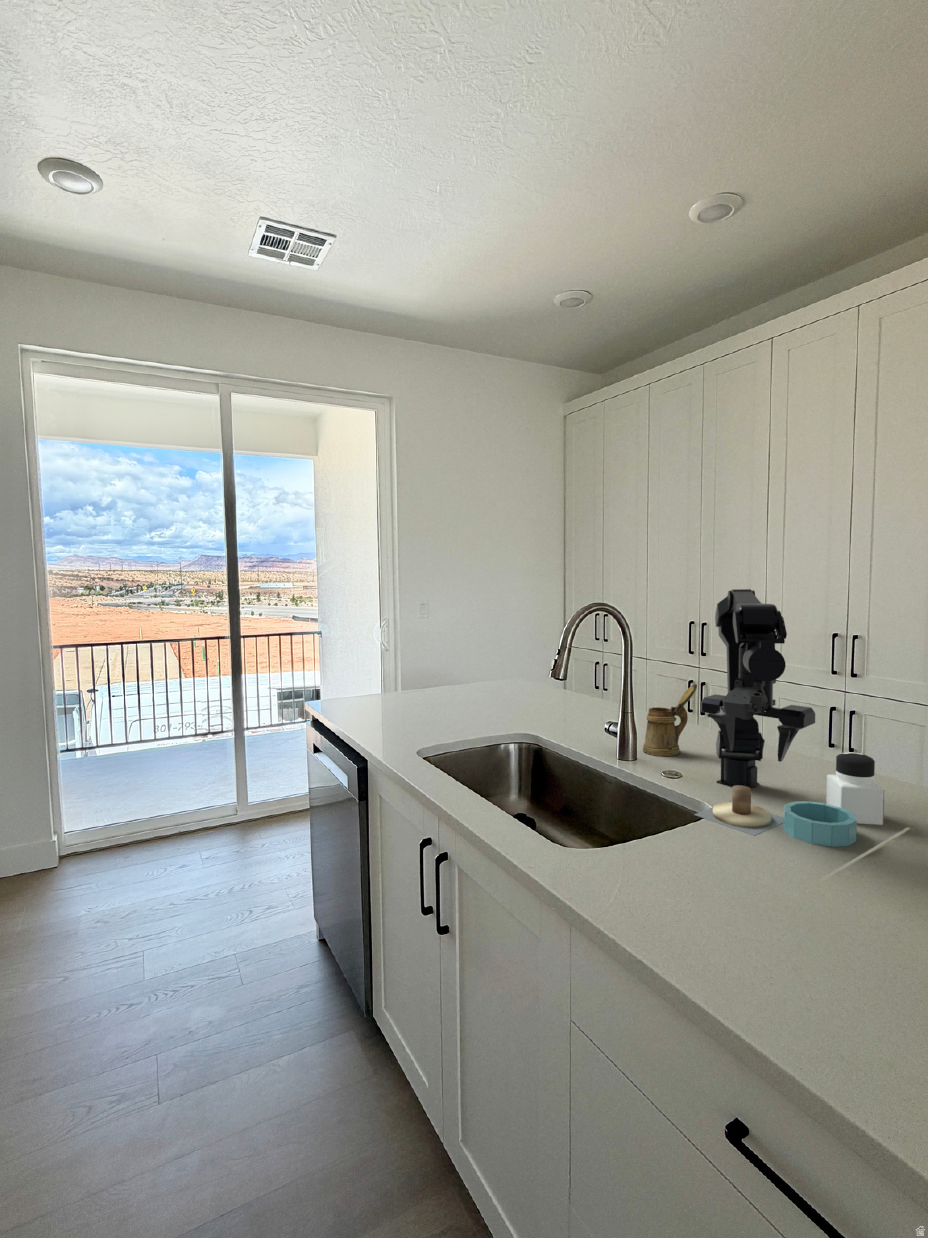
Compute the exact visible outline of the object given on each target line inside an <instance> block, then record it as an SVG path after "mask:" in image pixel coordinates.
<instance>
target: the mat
mask: <svg viewBox="0 0 928 1238" xmlns="http://www.w3.org/2000/svg"><path fill="white" fill-rule="evenodd" d="M727 802H732V800H728V801H727ZM769 813H770V814H771V823H770V824H769V825H767V826H764V827H756V828H750V827H740V826H735V825H730V824H727V823H724V822H722V821H720V820H718V819H716V818H715V817H714V816H713V806H712V807H710V808H707V809H705V810H703V811H700V812H697V813H695V814H693V816H696V817H699V818H702V819H704V820H708V821H710V822H714V823H716V824H718V825H722V826H725V827H728V828H731V829H734V830H736V831H739V832H742V833H745V834H747V835H751V836H754V837H756V836H758V835H760V834H762V833H764V832H766V831H768V830H771V829H772V828H775V827H777V826H779V825H781V824H782V825H783V824H784V816H780V815H778V814H774V813H771V812H769Z"/></svg>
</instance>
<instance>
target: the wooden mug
mask: <svg viewBox="0 0 928 1238" xmlns="http://www.w3.org/2000/svg"><path fill="white" fill-rule="evenodd" d="M697 689H698V685H697V684H693V685H692V686H690V687H688V688H687V689H686V690H685V692H684V693H683V694H682V696H681V697H680V699H679V700H678V704H677V705H673V706H671V707H670V708H667V707H662V706H661V707H658V706H657V707H649V708H648V712H647V715H646V721H647V723H646V731H645V737H644V738H645V739H644V743H643V747H642V751H643V753H645V752H646V753H645V754H648V755H651V756H657V757H671V756H676V755H678V754H679V753H680V750H681V749H680V746H679V739H680V736H681V734H682V733H683V730H684V729H685V727H686V725H687V724H688V712H687V710H686V709H685V707H684V706H685V705H686V704H687V703H689V701H690V700H691V698H692V697H693V696H694V694H695V693H696V691H697ZM676 716H677V717H678V718H679V719H680V722H679V723H678V724H677V725H676V724H675V722H676V721H677V717H676Z"/></svg>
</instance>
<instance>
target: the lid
mask: <svg viewBox="0 0 928 1238" xmlns="http://www.w3.org/2000/svg"><path fill="white" fill-rule="evenodd" d="M731 792H732V793H731V794H732V795H731V801H732V802H728V801H726V802H724V801H723V802H719V803H717V804H714V805H713V806H712V807H713V816H714V817H715V818H716V819H718V820H720V821H722V822H724V823H727V824H730V825H735V826H740V827H750V828H756V827H764V826H767V825H769V824H770V823H771V814H772V813H771V812H770V811H768V809H764V808H762V807H760V806H758V805H755V804H752V788H749V787H747V786H741V785H736V786H733V787H731ZM770 813H771V814H770Z"/></svg>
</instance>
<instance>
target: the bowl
mask: <svg viewBox="0 0 928 1238" xmlns="http://www.w3.org/2000/svg"><path fill="white" fill-rule="evenodd" d="M783 817H784V823H783V832H785V833H786V834H788V835H789V836H791V837H792V838H794V839H796V840H800V841H803V842H806V843H808V844H812V845H819V846H824V847H831V848H832V847H848V846H850V845H853V844H854V843H856V842H857V824H858V823H857V820H856V818H855V815H854V814H853V813H851V812H849V811H847V810H845V809H843V808H840V807H837V806H833V805H829V804H826V803H824V802H817V801H811V800H810V801H807V800H804V801H803V800H802V801H791V802H789V803H786V804H784V805H783Z"/></svg>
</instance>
